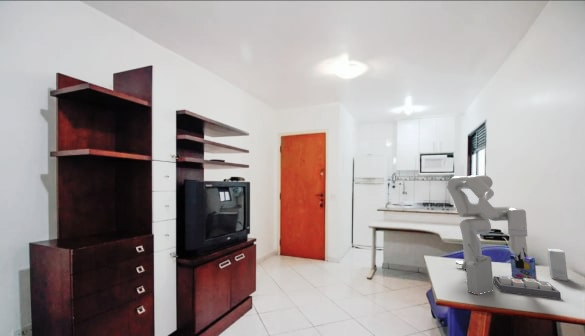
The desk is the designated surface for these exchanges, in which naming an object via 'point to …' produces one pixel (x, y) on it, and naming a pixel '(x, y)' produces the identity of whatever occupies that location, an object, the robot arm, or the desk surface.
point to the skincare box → (557, 264)
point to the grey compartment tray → (528, 289)
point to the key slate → (505, 280)
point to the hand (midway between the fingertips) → (519, 268)
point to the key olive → (530, 283)
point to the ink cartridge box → (528, 269)
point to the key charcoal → (544, 286)
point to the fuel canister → (479, 273)
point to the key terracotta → (518, 282)
